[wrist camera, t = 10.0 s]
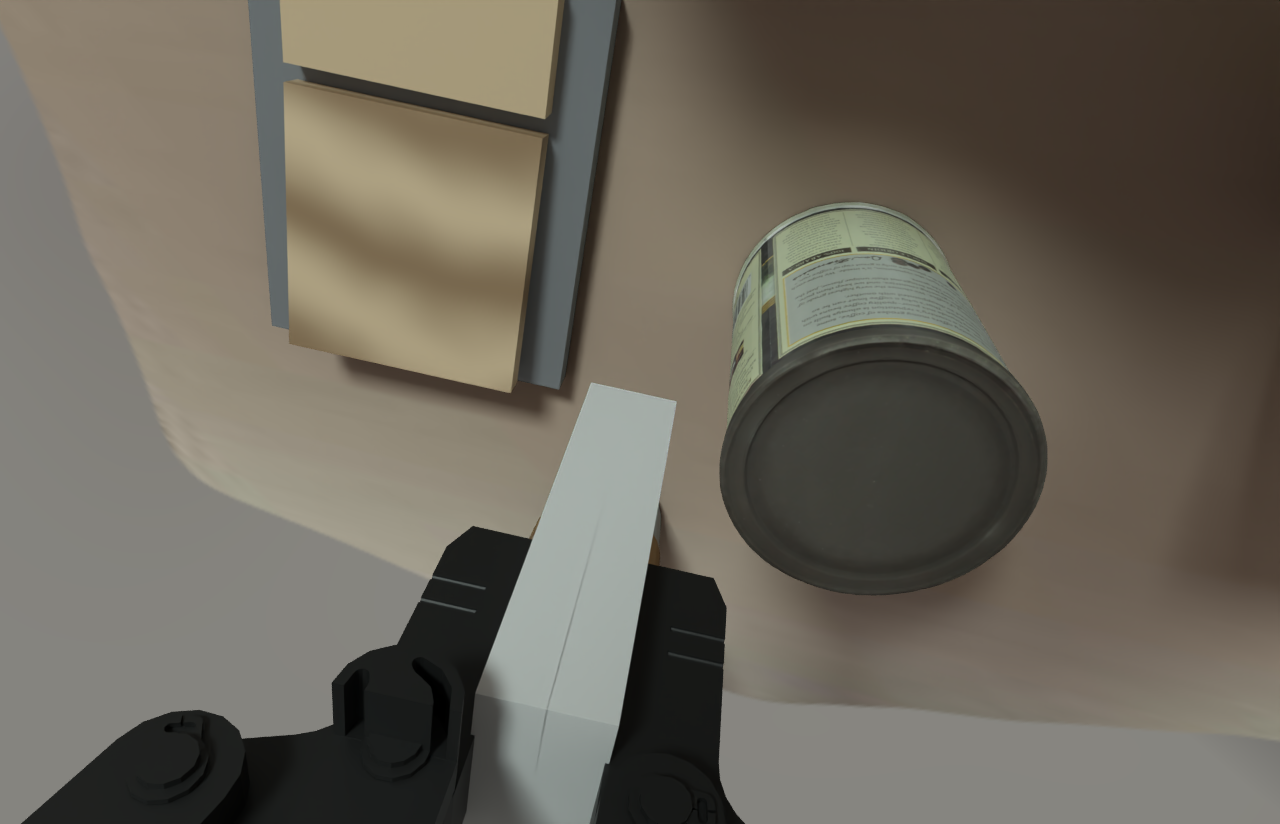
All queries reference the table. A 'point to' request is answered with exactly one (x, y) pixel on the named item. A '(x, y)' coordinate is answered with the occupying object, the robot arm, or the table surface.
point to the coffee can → (870, 410)
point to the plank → (409, 233)
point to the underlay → (456, 112)
